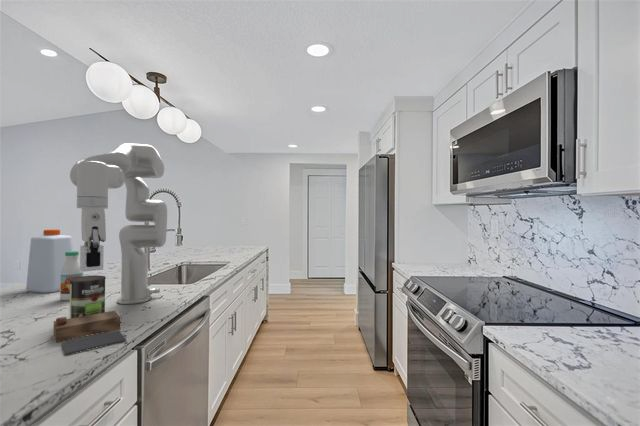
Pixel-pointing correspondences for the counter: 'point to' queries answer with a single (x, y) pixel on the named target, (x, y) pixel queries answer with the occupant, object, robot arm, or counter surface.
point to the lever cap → (84, 258)
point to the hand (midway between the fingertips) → (91, 264)
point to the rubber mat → (92, 342)
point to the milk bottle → (69, 273)
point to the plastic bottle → (47, 261)
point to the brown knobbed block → (85, 325)
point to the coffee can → (87, 295)
